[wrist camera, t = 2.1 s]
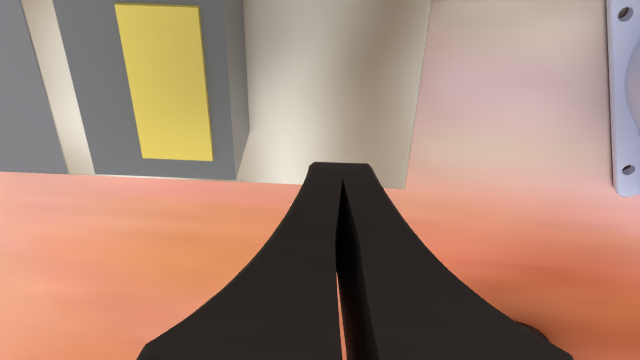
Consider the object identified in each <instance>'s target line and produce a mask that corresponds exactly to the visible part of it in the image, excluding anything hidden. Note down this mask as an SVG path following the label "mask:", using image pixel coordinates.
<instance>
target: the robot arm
mask: <svg viewBox="0 0 640 360" xmlns="http://www.w3.org/2000/svg"><path fill="white" fill-rule="evenodd" d="M606 3H607V29H608V55H609V81H610V107H611V133H612V159H613V185H614V189H615V191H616V192H617V194H618V195H620V196H622V197H629V196H634V195H638V194H640V0H607V2H606ZM625 7H628V8H629V10H628V13H627V14H626V15H625V16H624V17H622V18H618V13H619V12H620V11H621V9H623V8H625ZM628 165H631V166H630V167H629V168H628V169H626V170H623V168H624V167H625V166H628ZM336 273H337V276H338V285H339V294H340V302H341V311H342V319H343V327H344V336H345V344H346V353H347V360H574V359H573V358H572V356H571V355H570V354H568V353H567V352H565V351H563V350H562V349H560V348H558V347H556V346H555V345H553V344H551V343H550V342H548V341H546V340H544V339H543V338H541V337H539V336H538V335H536V334H534V333H532V332H531V331H529V330H527V329H526V328H524V327H522V326H521V325H519V324H518V323H516V322H515V321H513V320H512V319H511V318H509V317H508V316H506V315H505V314H503V313H502V312H500V311H499V310H497V309H496V308H495V307H493V306H492V305H491V304H489V303H488V302H487V301H485V300H484V299H482V298H481V297H480V296H479V295H478V294H476V293H475V292H474V291H473V290H471V289H470V288H469V287H468V286H467V285H465V284H464V283H463V282H462V281H460V280H459V279H458V278H457V277H456V276H455V275H454V274H452V273H451V272H450V271H449V270H448V269H447V268H446V267H445V266H444V265H443V264H442V263H441V262H440V261H439V260H438V259H437V258H436V257H435V256H434V255H433V254H432V253H431V251H430V250H429V249H428V248H427V247H426V246H425V245H424V244H423V242H422V241H421V240H420V239H419V238H418V236H417V235H416V234H415V233H414V232H413V230H412V229H411V228H410V226H409V225H408V224H407V223H406V221H405V220H404V219H403V217H402V216H401V214H400V213H399V211H398V210H397V209H396V207H395V206H394V204H393V203H392V201H391V200H390V198H389V197H388V195H387V194H386V192H385V190H384V189H383V187H382V186H381V184H380V182H379V180H378V178H377V177H376V175H375V173H374V171H373V169H372V167H371V166H370V165H369V164H368V163H338V162H313V163H312V164H311V165H310V166H309V168H308V172H307V175H306V178H305V180H304V183H303V185H302V187H301V189H300V191H299V193H298V195H297V197H296V198H295V200H294V202H293V204H292V205H291V207H290V209H289V211H288V212H287V214H286V215H285V217H284V218H283V220H282V221H281V223H280V224H279V226H278V227H277V229H276V230H275V231H274V233H273V234H272V236H271V237H270V238H269V240H268V241H267V242H266V243H265V245H264V246H263V247H262V248H261V250H260V251H259V252H258V253H257V254H256V255H255V257H254V258H253V259H252V260H251V261H250V262H249V263H248V264H247V265H246V266H245V267H244V268H243V269H242V270H241V271H240V272H239V274H238V275H237V276H236V277H235V278H234V279H233V280H232V281H230V282H229V283H228V284H227V285H226V286H225V287H224V288H223V289H222V290H221V291H220V292H218V293H217V294H216V295H215V296H213V297H212V298H211V299H210V300H209V301H207V302H206V303H205V304H204V305H202V306H201V307H200V308H199V309H197V310H196V311H195V312H194V313H193V314H191V315H190V316H188V317H187V318H186V319H184V320H183V321H182V322H180V323H178V324H177V325H175V326H174V327H172V328H171V329H169V330H168V331H166V332H165V333H163V334H162V335H160V336H159V337H157V338H156V339H154V340H152V341H150V342H149V343H147V344H146V345H145V346H144V348H143V349H142V351H141V353H140V354H139V356H138V358H137V360H342V350H341V338H340V327H339V312H338V297H337V279H336Z"/></svg>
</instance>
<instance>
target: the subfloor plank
mask: <svg viewBox="0 0 640 360" xmlns="http://www.w3.org/2000/svg"><path fill="white" fill-rule="evenodd" d="M20 2H22V6H23V9H24V12H25V16H26V20H27V23H28V24H27V25H28V27H29V30H30V32H29V33H30V34H31V38H32V42H33V45H34V46H33V47H34V49H35V53H36V54H35V55H37V57H36V59H37V60H36V61H37V62H38V63H39V64H38V65H39V66H40V70H41V71H40V70H39V72H40V73H41V74H42V75H41V76H42V77H43V84H44V86H45V87H44V88H46V90H45V89H44V90H45V91H46V93H47V94H46V95H48V99H49V102H48V103H50V104H49V107H50V109H51V110H50V111H51V114H53V115H52V118H53V121H54V122H55V123H54V124H55V129H56V130H57V131H56V132H57V133H58V134H59V135H57V136H58V139H59V143H60V144H61V145H60V147H62V149H63V150H62V149H61V150H62V154H63V157H64V159H65V163H66V165H67V167H66V168H67V172H68V170H69V172H68V174H69V175H92V176H116V177H139V178H163V179H186V180H210V181H233V182H256V183H280V184H303V183H304V180H305V178H306V175H307V172H308V168H309V166H310V165H311V164H312V163H313V162H338V163H368V164H369V165H370V166H371V167H372V169H373V171H374V173H375V175H376V177H377V178H378V180H379V182H380V184H381V186H382V187H383V188H397V189H405V184H406V177H407V170H408V163H409V156H410V149H411V142H412V135H413V128H414V121H415V114H416V107H417V101H418V94H419V87H420V80H421V73H422V66H423V59H424V52H425V45H426V38H427V31H428V24H429V17H430V10H431V3H432V0H243V8H244V28H245V47H246V67H247V87H248V107H249V126H250V133H249V136H248V140H247V143H246V146H245V150H244V153H243V157H242V160H241V164H240V167H239V171H238V174H237V178H236V180H221V179H198V178H174V177H151V176H127V175H104V174H95V172H94V168H93V163H92V159H91V155H90V151H89V147H88V143H87V139H86V135H85V131H84V127H83V123H82V119H81V115H80V111H79V107H78V103H77V99H76V95H75V91H74V86H73V82H72V78H71V74H70V70H69V66H68V62H67V58H66V54H65V50H64V46H63V42H62V38H61V34H60V30H59V26H58V22H57V18H56V14H55V9H54V5H53V1H52V0H21V1H20ZM24 12H23V13H24ZM25 22H26V21H25ZM41 79H42V78H41ZM48 99H47V100H48Z"/></svg>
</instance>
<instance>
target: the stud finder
mask: <svg viewBox="0 0 640 360" xmlns="http://www.w3.org/2000/svg"><path fill="white" fill-rule="evenodd" d="M52 1H53V5H54V9H55V14H56V18H57V22H58V26H59V30H60V34H61V38H62V42H63V46H64V50H65V54H66V58H67V62H68V66H69V70H70V74H71V78H72V82H73V86H74V91H75V95H76V99H77V103H78V107H79V111H80V115H81V119H82V123H83V127H84V131H85V135H86V139H87V143H88V147H89V151H90V155H91V159H92V163H93V168H94V172H95V174H104V175H127V176H151V177H174V178H198V179H221V180H236V178H237V174H238V171H239V167H240V164H241V160H242V157H243V153H244V150H245V146H246V143H247V140H248V136H249V133H250V126H249V107H248V87H247V67H246V47H245V28H244V8H243V0H52Z"/></svg>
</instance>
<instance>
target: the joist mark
mask: <svg viewBox="0 0 640 360" xmlns="http://www.w3.org/2000/svg"><path fill="white" fill-rule="evenodd" d="M20 1H21V0H0V171H2V172H25V173H49V174H68V172H69V170H68V172H67V168H66V167H67V165H66V163H65V159H64V157H63V154H62V150H63V149H62V147H60V145H61V144H60V143H59V139H58V136H57V135H59V134H58V133H57V132H56V131H57V130H56V129H55V124H54V123H55V122H54V121H53V118H52V115H53V114H51V111H50V110H51V109H50V107H49V104H50V103H48V102H49V99H48V95H46V94H47V93H46V91H45V90H46V88H44V87H45V86H44V84H43V77H42V76H41V75H42V74H41V73H40V72H39V70H40V66H39V65H38V64H39V63H38V62H37V61H36V60H37V59H36V57H37V55H35V54H36V53H35V49H34V47H33V46H34V45H33V42H32V38H31V34H30V33H29V32H30V30H29V27H28V25H27V24H28V23H27V20H26V16H25V12H24V9H23V6H22V2H20ZM23 12H24V13H23ZM25 21H26V22H25ZM40 71H41V70H40ZM41 78H42V79H41ZM44 89H45V90H44ZM47 99H48V100H47ZM61 149H62V150H61Z"/></svg>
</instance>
